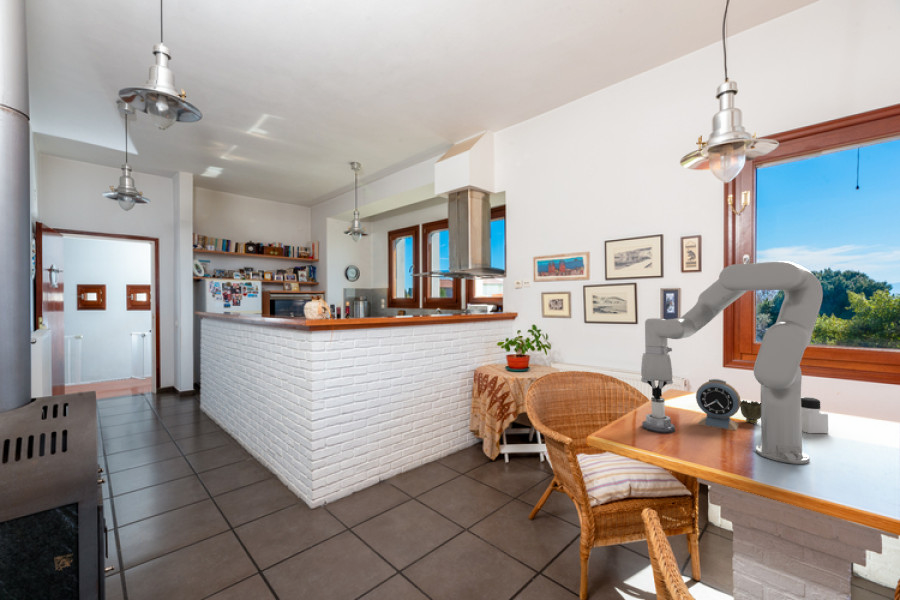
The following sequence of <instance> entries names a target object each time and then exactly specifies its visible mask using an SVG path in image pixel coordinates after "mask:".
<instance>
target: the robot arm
mask: <svg viewBox="0 0 900 600" xmlns="http://www.w3.org/2000/svg"><path fill="white" fill-rule="evenodd" d="M748 291H749V292H751V291H752V292H754V291H756V292H757V291H783V292H784V299H783V301H782V304H781V307H780V310H779V313H778V316H777V319H776V322H775V323H774V324H772V325H771V326H770V327H768V328H767V330H766V332H765V333H764V335H763V338H762V341H761V343H760V347H759V350H758V352H757V356H756V360H755V363H754V366H753V376H754V378H755V380H756V382H758V383H759V384H760V403H761V418H760V429H761V430H760V431H761V444H760V445H756V447H755V453H757V454H758V455H759V456H762V457H763V458H766V459H768V460H773V461H774V462H775V461H776V462H780V463H786V464H792V465H793V464H795V465H801V464H803V465H804V464H807V463H810V456H809V455H808V454H806V453H805V452H803V434H802V433H803V431H802V424H801V397H802V379H803V377H802V375H803V374H802V368H801V366H800V364H801V361H802V359H803V356H804V353H805V350H806V348H808V347H809V345H810V343H811V340H812V336H813V332H814V328H815V325H816V323H817V319H818V315H819V314H820V313H819V312H820V310H821V306H822V302H823V297H824V295H823V294H824V292H823V287H822V283H821V282H820V280H819V279H818V278H817V276H815V274H814V273H812V272H811V271H809V270H808V269H807V268H805V267H803V266H801V265H800V264H796V263H794V262H791V261H781V260H780V261H768V262H767V261H766V262H755V263H739V264H738V263H737V264H736V263H735V264H731V265H728V266H726V267H725V268H723V269H722V270H721V272H720V273H719V276H718V279H717V280H715V282H713V283H712V284H710V286H708V287H707V288H706V289H705V290H704V291H702V292H701V293H700V294H699V295H698V297H697V301H696V303H695V305H694V306H693V307H692V308H690V309H689V310H688V311H687V312H686V313H684V314H683V315H682V316H681V317H677V318H669V319H665V318H658V317H656V318H654V317H653V318H651V317H650V318H647V319H645V321H644V336H645V337H644V343H645V347H644V349H645V351H644V353H642V356H641V357H642V358H641V366H640V367H641V374H640V376H641V378H640V381H641V382H642V383H644V384H648V385H649V386H650V387H651V389H652V390H651V393H652V397H654V398H655V399H657V398H658V399H660V398H663V397H662V396H663V394H662V391H663V390H662V389H663V388H664V387H666V385H672V384H674V381H673V368H672V366H673V365H672V360H671V356H670V354H669V352H673V348H672V347H669V346H668V339H671V340H680V339H686V338H689V337H691V336H693V335H695V334H696V333H698V331H700V330H701V329H703V328H704V327H705V326H706V325H708V324H709V323H710V322H712V320H714V318H716V317H717V316H719V314H720V313H721V312H722V311H724V310H725V309H726V308H727V307H729V306H730V305H731V304H732V303H734V302H735V301H736V300H737V299H739V298H740V297H742V296H743V295H745V294H746V293H747V292H748ZM656 381H658V383H657V386H656Z"/></svg>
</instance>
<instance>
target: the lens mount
mask: <svg viewBox="0 0 900 600" xmlns="http://www.w3.org/2000/svg"><path fill="white" fill-rule="evenodd" d="M671 421H672V420H671V417H670V416H668V415H666V414H665V419H656V418H652V413H648V414H646V415H645V420H644V421H642V422H641V423H642V424H641V426H642V429H644V430H646V431H648V432H652V433H656V434H672V433H675V432H676V426H675V425H674V424H673V423H671Z"/></svg>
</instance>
